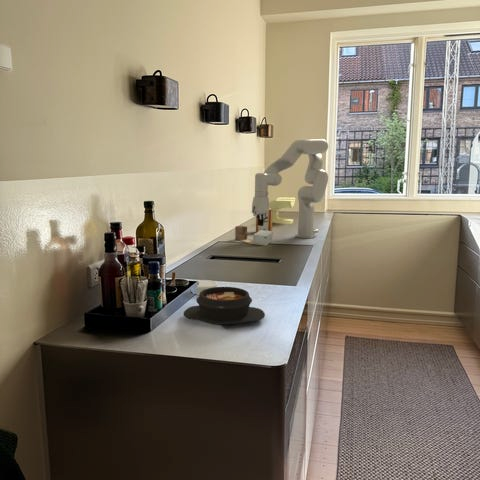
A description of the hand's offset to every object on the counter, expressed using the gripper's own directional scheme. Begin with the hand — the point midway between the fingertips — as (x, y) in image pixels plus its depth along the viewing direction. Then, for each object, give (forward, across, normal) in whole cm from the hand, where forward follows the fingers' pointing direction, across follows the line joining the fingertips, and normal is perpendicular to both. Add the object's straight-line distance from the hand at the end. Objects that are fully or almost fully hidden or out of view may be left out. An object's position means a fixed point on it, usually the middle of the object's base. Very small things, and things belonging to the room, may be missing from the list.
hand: (260, 225), depth 273 cm
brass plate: (+9, +5, 0) cm, 10 cm away
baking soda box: (+9, -22, -22) cm, 32 cm away
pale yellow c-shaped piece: (+9, -65, -51) cm, 83 cm away
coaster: (+10, +85, +68) cm, 109 cm away
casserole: (+10, +96, +96) cm, 136 cm away
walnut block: (+9, +7, -10) cm, 15 cm away
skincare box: (+6, -3, +2) cm, 7 cm away
